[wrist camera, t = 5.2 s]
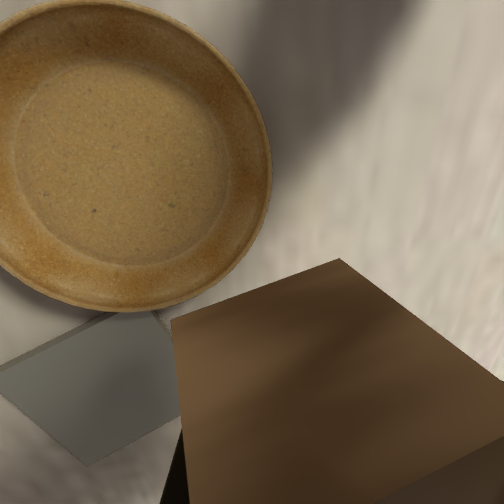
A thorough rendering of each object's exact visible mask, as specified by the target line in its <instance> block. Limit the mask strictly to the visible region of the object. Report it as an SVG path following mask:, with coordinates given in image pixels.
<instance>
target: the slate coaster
mask: <svg viewBox="0 0 504 504" xmlns="http://www.w3.org/2000/svg"><path fill="white" fill-rule="evenodd" d="M0 393H1V394H2V395H3V396H4V397H6V398H7V399H8V400H9V401H10V402H11V403H13V404H14V405H15V406H16V407H17V408H19V409H20V410H21V411H22V412H23V413H24V414H26V415H27V416H28V417H29V418H30V419H31V420H33V421H34V422H35V423H36V424H37V425H38V426H40V427H41V428H42V429H43V430H44V431H46V432H47V433H48V434H49V435H50V436H51V437H53V438H54V439H55V440H56V441H57V442H58V443H60V444H61V445H62V446H63V447H64V448H66V449H67V450H68V451H69V452H70V453H71V454H73V455H74V456H75V457H76V458H77V459H78V460H80V461H81V462H82V463H83V464H84V465H85V466H89V465H91V464H93V463H94V462H96V461H98V460H100V459H102V458H103V457H105V456H107V455H109V454H111V453H113V452H114V451H116V450H118V449H120V448H122V447H123V446H125V445H127V444H129V443H131V442H133V441H134V440H136V439H138V438H140V437H142V436H144V435H145V434H147V433H149V432H151V431H153V430H154V429H156V428H158V427H160V426H162V425H164V424H165V423H167V422H169V421H171V420H173V419H174V418H176V417H178V416H180V415H181V414H180V404H179V395H178V385H177V376H176V366H175V357H174V347H173V338H172V336H171V334H170V333H169V332H168V330H167V329H166V327H165V326H164V324H163V323H162V321H161V320H160V318H159V317H158V315H157V314H156V312H155V311H154V310H151V311H141V312H107V313H105V314H103V315H101V316H99V317H97V318H95V319H93V320H91V321H89V322H87V323H85V324H83V325H81V326H79V327H77V328H75V329H73V330H71V331H69V332H67V333H65V334H63V335H61V336H59V337H57V338H55V339H53V340H51V341H49V342H47V343H45V344H43V345H41V346H39V347H37V348H35V349H33V350H31V351H29V352H27V353H25V354H23V355H21V356H19V357H17V358H15V359H13V360H11V361H9V362H7V363H5V364H3V365H1V366H0Z"/></svg>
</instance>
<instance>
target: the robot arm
mask: <svg viewBox="0 0 504 504" xmlns="http://www.w3.org/2000/svg"><path fill="white" fill-rule="evenodd" d="M502 382H503V383H504V381H502ZM160 504H190V499H189V490H188V480H187V471H186V461H185V452H184V442H183V433H182V429H181V432H180V436H179V439H178V443H177V446H176V449H175V453H174V456H173V460H172V463H171V466H170V470H169V473H168V477H167V480H166V483H165V487H164V490H163V494H162V497H161V500H160Z"/></svg>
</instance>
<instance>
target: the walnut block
mask: <svg viewBox="0 0 504 504" xmlns="http://www.w3.org/2000/svg"><path fill="white" fill-rule="evenodd" d="M171 328H172V338H173V347H174V357H175V366H176V376H177V385H178V395H179V404H180V414H181V423H182V433H183V442H184V452H185V461H186V471H187V480H188V490H189V499H190V504H504V383H503V382H502V381H501V380H499V379H498V378H497V377H495V376H494V375H493V374H491V373H490V372H489V371H488V370H486V369H485V368H484V367H482V366H481V365H480V364H478V363H477V362H476V361H474V360H473V359H472V358H470V357H469V356H468V355H466V354H465V353H464V352H462V351H461V350H460V349H459V348H457V347H456V346H455V345H453V344H452V343H451V342H449V341H448V340H447V339H445V338H444V337H443V336H441V335H440V334H439V333H437V332H436V331H435V330H433V329H432V328H431V327H429V326H428V325H427V324H426V323H424V322H423V321H422V320H420V319H419V318H418V317H416V316H415V315H414V314H412V313H411V312H410V311H408V310H407V309H406V308H404V307H403V306H402V305H400V304H399V303H398V302H397V301H395V300H394V299H393V298H391V297H390V296H389V295H387V294H386V293H385V292H383V291H382V290H381V289H379V288H378V287H377V286H375V285H374V284H373V283H371V282H370V281H369V280H368V279H366V278H365V277H364V276H362V275H361V274H360V273H358V272H357V271H356V270H354V269H353V268H352V267H350V266H349V265H348V264H346V263H345V262H344V261H342V260H341V259H340V258H338V259H336V260H333V261H330V262H328V263H325V264H322V265H319V266H317V267H314V268H311V269H308V270H306V271H303V272H300V273H297V274H295V275H292V276H289V277H286V278H284V279H281V280H278V281H276V282H273V283H270V284H267V285H265V286H262V287H259V288H256V289H254V290H251V291H248V292H245V293H243V294H240V295H237V296H235V297H232V298H229V299H226V300H224V301H221V302H218V303H215V304H213V305H210V306H207V307H204V308H202V309H199V310H196V311H193V312H191V313H188V314H185V315H183V316H180V317H177V318H174V319H172V320H171Z"/></svg>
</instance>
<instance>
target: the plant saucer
mask: <svg viewBox="0 0 504 504" xmlns="http://www.w3.org/2000/svg"><path fill="white" fill-rule="evenodd" d="M271 188H272V157H271V150H270V143H269V140H268V135H267V131H266V128H265V124H264V121H263V118H262V115H261V113H260V111H259V108H258V105H257V103H256V101H255V99H254V97H253V96H252V94H251V92H250V91H249V89H248V87H247V86H246V84H245V82H244V81H243V80H242V79H241V77H240V76H239V74H238V73H237V72H236V70H235V69H234V68H233V66H232V65H231V64H230V63H229V62H228V61H227V60H226V59H225V57H224V56H223V55H222V54H221V53H220V52H219V51H218V50H217V49H216V48H215V47H214V46H213V45H212V44H210V43H209V42H208V41H207V40H205V39H204V38H203V37H201V36H200V35H199V34H197V33H196V32H194V31H193V30H192V29H191V28H189V27H187V26H186V25H185V24H183V23H181V22H179V21H178V20H176V19H173V18H172V17H170V16H168V15H165V14H163V13H160V12H158V11H156V10H154V9H151V8H148V7H144V6H141V5H139V4H135V3H131V2H127V1H121V0H52V1H48V2H44V3H41V4H36V5H35V6H33V7H30V8H27V9H25V10H21V11H19V12H18V13H15V14H13V15H12V16H11V17H9V18H7V19H5V20H4V21H2V22H0V266H1V267H3V268H4V269H5V270H6V271H7V272H9V273H10V274H11V275H13V276H14V277H16V278H17V279H19V280H20V281H21V282H23V283H24V284H26V285H27V286H29V287H31V288H32V289H34V290H36V291H38V292H40V293H42V294H44V295H46V296H49V297H51V298H53V299H56V300H59V301H62V302H64V303H67V304H70V305H73V306H77V307H82V308H85V309H92V310H98V311H105V312H141V311H151V310H157V309H161V308H166V307H169V306H173V305H176V304H179V303H181V302H184V301H186V300H189V299H191V298H193V297H195V296H197V295H199V294H201V293H203V292H204V291H206V290H207V289H209V288H211V287H212V286H214V285H215V284H217V283H218V282H219V281H221V280H222V279H223V278H224V277H225V276H226V275H227V274H228V273H229V272H230V271H232V270H233V269H234V267H235V266H236V265H237V264H238V263H239V262H240V261H241V259H242V258H243V257H244V256H245V255H246V253H247V252H248V250H249V248H250V247H251V246H252V244H253V242H254V241H255V239H256V237H257V235H258V233H259V231H260V229H261V227H262V224H263V221H264V218H265V215H266V212H267V208H268V204H269V201H270V196H271Z"/></svg>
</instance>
